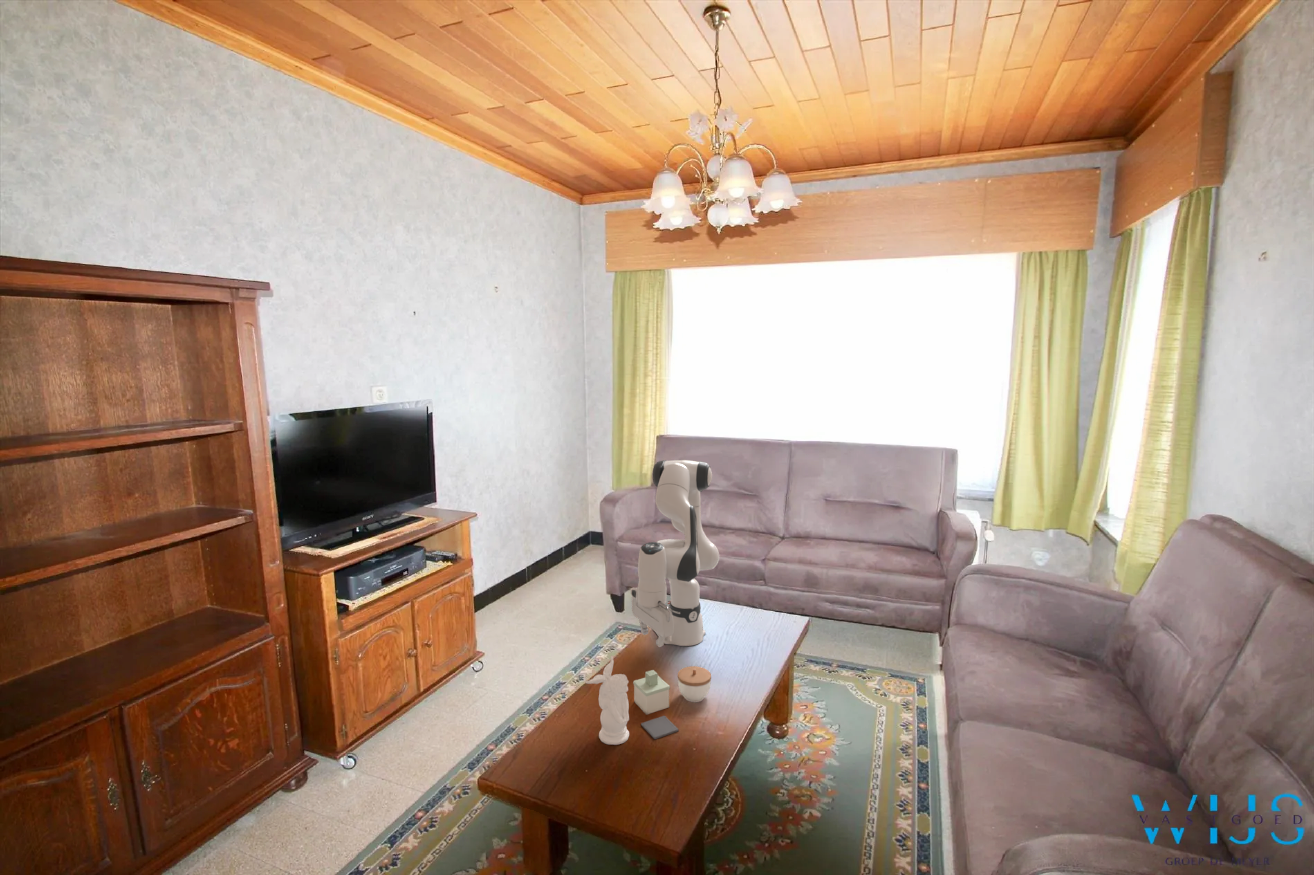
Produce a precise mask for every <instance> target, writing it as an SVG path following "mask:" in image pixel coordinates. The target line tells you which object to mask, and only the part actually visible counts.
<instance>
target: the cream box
mask: <svg viewBox="0 0 1314 875" xmlns="http://www.w3.org/2000/svg"><path fill="white" fill-rule="evenodd" d="M633 688H634V689H633V690H634V691H633V694H634V695H633V698H634V702H633V703H635V704H636V705H637V706H638V708H640V709H641V711H642V712H643V713H644V714H645V715H650V714H653V713H655V712H659V711H662V710H664V709H665V710H666V709H667V708H670V689H669V690H666V691H663V692H659V693H656V694H653V695H650V696H645V695H644V694H643V693H642V692H641V691H640V690H639V689H638V688H637V687H636V686H635V685H634V684H633Z"/></svg>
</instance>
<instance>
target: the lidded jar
mask: <svg viewBox="0 0 1314 875" xmlns="http://www.w3.org/2000/svg"><path fill="white" fill-rule="evenodd" d="M711 680H712V673H711V672H710V671H709V670H708V669H706V668H704V667H701V666H696V665H695V666H693V665H691V666H686V667H683V668H681V669H680V670H678V672H677V685H678V690H679V692H680V694H681V695H682V697H684V700H686V701H688V702H689V703H700V702H702V701H703V700H704V699H705V698H706V697H707V696H708V694H709V692H710V689H711V683H712V682H711Z"/></svg>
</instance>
